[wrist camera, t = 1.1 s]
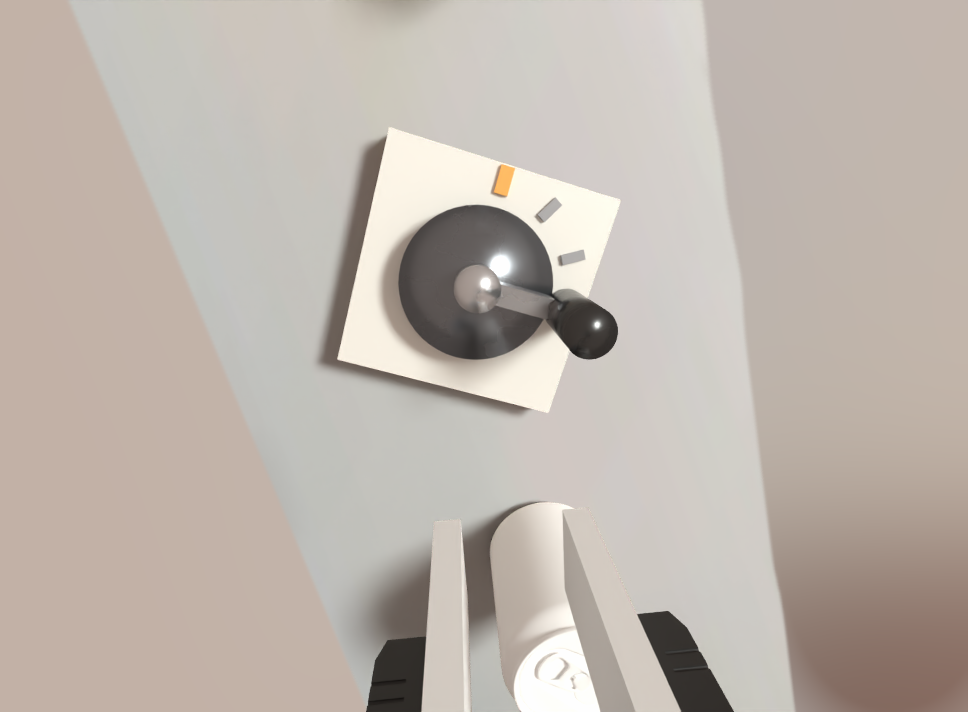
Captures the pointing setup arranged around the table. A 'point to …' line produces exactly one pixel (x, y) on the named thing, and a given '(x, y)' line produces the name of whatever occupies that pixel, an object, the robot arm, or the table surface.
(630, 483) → the table surface
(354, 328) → the dial board
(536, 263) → the dial
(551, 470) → the table surface
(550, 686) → the beverage can
